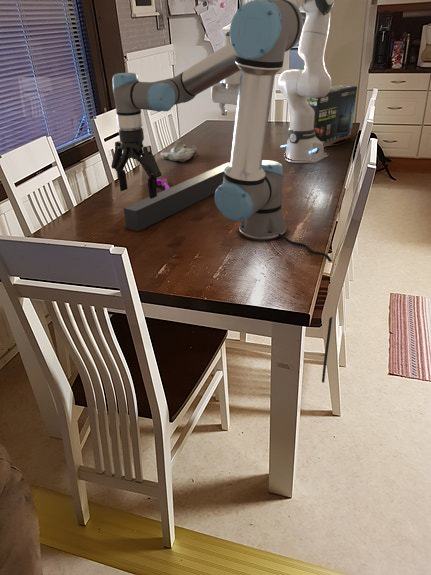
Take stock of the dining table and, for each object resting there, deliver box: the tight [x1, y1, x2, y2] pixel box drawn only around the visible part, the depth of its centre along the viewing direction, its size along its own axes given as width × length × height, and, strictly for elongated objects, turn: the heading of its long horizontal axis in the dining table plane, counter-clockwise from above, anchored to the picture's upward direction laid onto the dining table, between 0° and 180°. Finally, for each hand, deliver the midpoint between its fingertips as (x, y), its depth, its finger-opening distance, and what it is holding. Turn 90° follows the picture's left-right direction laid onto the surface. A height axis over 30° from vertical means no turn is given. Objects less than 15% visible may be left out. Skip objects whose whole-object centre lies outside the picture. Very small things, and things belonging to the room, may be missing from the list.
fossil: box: [160, 142, 199, 163], centre depth 229 cm, size 18×11×15 cm
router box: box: [306, 84, 358, 144], centre depth 238 cm, size 36×11×27 cm, turn 134°
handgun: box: [157, 177, 171, 190], centre depth 189 cm, size 21×8×2 cm, turn 11°
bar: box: [123, 162, 231, 232], centre depth 174 cm, size 61×6×7 cm, turn 144°
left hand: (138, 193), depth 153 cm, fingers open, 13 cm apart
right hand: (233, 116), depth 182 cm, fingers open, 8 cm apart
